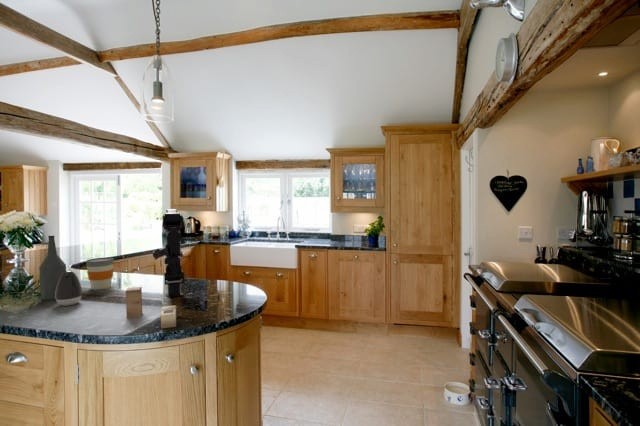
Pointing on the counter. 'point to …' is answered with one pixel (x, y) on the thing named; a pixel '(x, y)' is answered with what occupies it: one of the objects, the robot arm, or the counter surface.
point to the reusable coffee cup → (100, 272)
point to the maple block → (168, 316)
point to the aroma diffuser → (68, 289)
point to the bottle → (50, 271)
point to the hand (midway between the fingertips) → (174, 276)
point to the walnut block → (134, 302)
